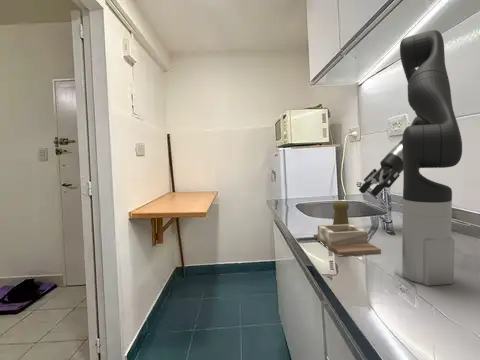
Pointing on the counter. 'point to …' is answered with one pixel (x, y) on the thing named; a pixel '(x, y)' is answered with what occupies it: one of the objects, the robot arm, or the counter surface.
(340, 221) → the cork
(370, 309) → the counter surface
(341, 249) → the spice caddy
